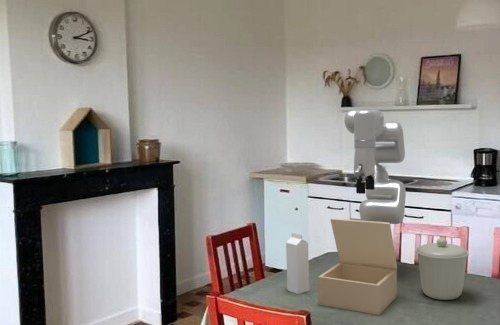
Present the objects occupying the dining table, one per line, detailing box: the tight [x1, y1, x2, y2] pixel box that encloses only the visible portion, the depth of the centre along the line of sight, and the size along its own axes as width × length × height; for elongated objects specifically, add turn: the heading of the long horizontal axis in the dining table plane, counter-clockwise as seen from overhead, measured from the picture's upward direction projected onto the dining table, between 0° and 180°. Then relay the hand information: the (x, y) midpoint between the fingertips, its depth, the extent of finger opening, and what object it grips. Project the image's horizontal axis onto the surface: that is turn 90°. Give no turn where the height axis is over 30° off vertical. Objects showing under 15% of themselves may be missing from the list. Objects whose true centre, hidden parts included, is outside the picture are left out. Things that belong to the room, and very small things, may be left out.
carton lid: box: [329, 217, 398, 270], centre depth 202 cm, size 20×22×6 cm
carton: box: [317, 261, 398, 316], centre depth 196 cm, size 20×22×10 cm
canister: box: [415, 237, 470, 301], centre depth 198 cm, size 18×18×21 cm
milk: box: [285, 232, 310, 295], centre depth 208 cm, size 6×6×22 cm
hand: (365, 191), depth 201 cm, fingers open, 9 cm apart
